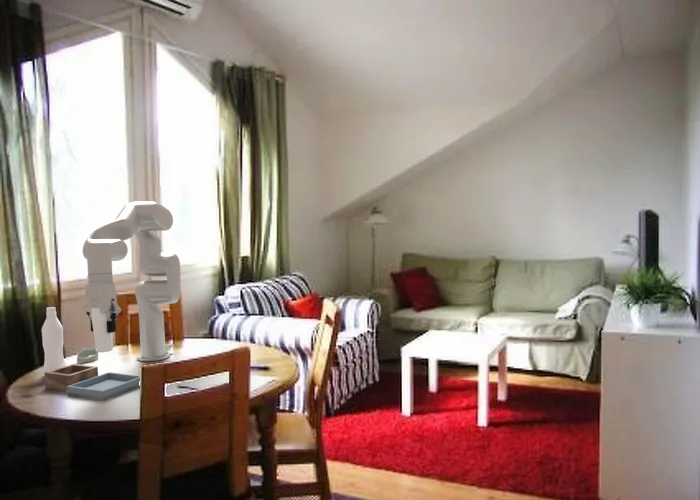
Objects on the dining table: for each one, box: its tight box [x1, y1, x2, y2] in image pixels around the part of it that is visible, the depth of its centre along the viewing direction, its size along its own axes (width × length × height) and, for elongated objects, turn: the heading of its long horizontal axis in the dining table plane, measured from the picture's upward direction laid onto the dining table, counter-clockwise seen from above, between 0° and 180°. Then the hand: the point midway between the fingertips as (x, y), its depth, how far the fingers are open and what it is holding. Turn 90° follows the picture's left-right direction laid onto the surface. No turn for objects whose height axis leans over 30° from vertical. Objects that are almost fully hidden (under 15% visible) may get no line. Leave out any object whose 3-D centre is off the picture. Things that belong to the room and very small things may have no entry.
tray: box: [66, 371, 141, 401], centre depth 207 cm, size 18×16×3 cm
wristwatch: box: [76, 348, 99, 364], centre depth 248 cm, size 9×6×5 cm
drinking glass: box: [91, 308, 114, 353], centre depth 206 cm, size 7×7×15 cm
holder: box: [44, 363, 99, 392], centre depth 214 cm, size 12×12×6 cm
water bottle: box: [41, 306, 66, 373], centre depth 228 cm, size 7×7×25 cm
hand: (103, 331), depth 206 cm, fingers closed on drinking glass, 6 cm apart
